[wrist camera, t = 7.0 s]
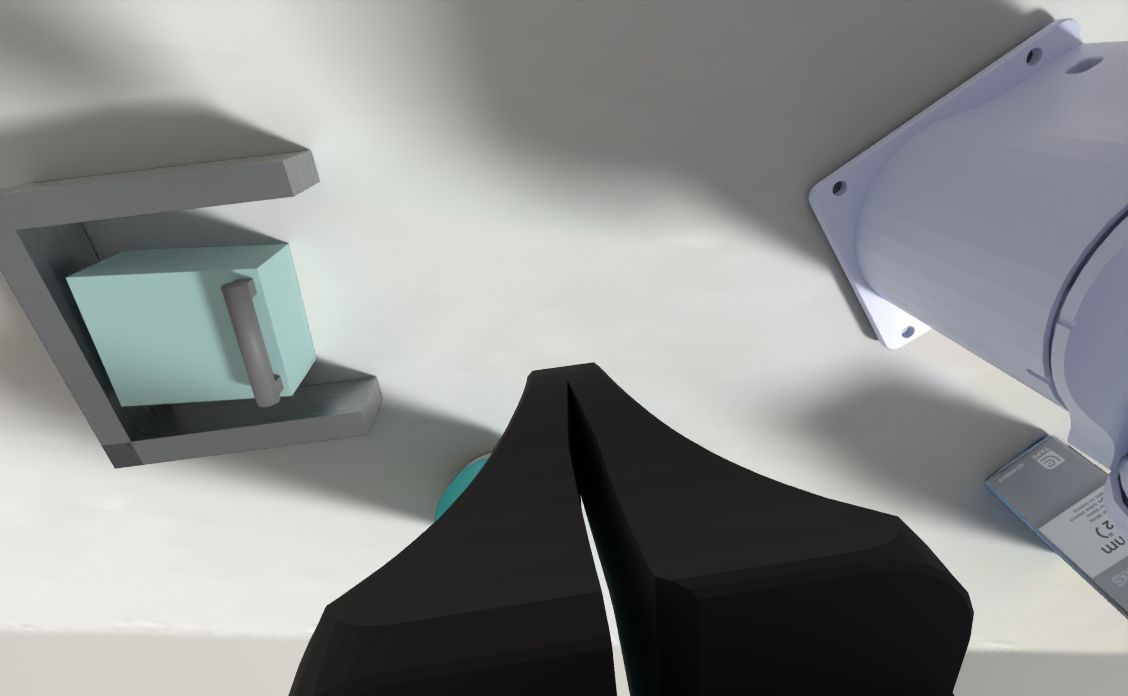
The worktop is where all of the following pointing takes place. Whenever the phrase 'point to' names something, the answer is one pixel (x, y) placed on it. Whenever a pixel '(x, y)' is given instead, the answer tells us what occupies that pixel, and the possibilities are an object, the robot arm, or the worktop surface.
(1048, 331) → the robot arm
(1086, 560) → the label tape box
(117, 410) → the bay
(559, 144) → the worktop surface
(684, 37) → the worktop surface
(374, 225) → the worktop surface
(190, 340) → the mint cube with handle
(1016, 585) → the worktop surface
